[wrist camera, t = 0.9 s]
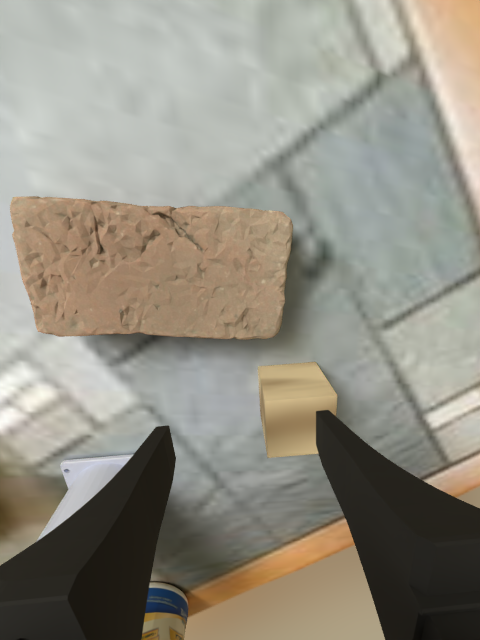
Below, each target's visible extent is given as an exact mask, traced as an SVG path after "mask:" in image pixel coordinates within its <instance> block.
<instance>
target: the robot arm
mask: <svg viewBox="0 0 480 640" xmlns="http://www.w3.org/2000/svg"><path fill="white" fill-rule="evenodd" d="M316 446H317V450H318V453H319V456H320V459H321V462H322V466H323V468H324V470H325V472H326V475H327V477H328V479H329V482H330V484H331V486H332V488H333V491H334V493H335V495H336V497H337V500H338V502H339V504H340V506H341V509H342V511H343V513H344V515H345V518H346V520H347V523H348V525H349V528H350V531H351V534H352V537H353V540H354V543H355V546H356V549H357V551H358V554H359V557H360V561H361V564H362V566H363V570H364V572H365V576H366V579H367V582H368V585H369V588H370V591H371V594H372V598H373V601H374V604H375V607H376V610H377V614H378V617H379V620H380V624H381V627H382V630H383V633H384V637H385V640H480V508H477V507H475V506H473V505H470V504H468V503H466V502H464V501H461V500H459V499H457V498H455V497H453V496H451V495H449V494H447V493H445V492H443V491H441V490H439V489H437V488H435V487H433V486H431V485H429V484H427V483H426V482H424V481H422V480H420V479H419V478H417V477H415V476H413V475H412V474H410V473H408V472H407V471H405V470H403V469H402V468H400V467H399V466H397V465H396V464H394V463H393V462H391V461H390V460H388V459H387V458H385V457H384V456H383V455H381V454H380V453H378V452H377V451H376V450H374V449H373V448H372V447H371V446H369V445H368V444H367V443H365V442H364V441H363V440H362V439H361V438H359V437H358V436H357V435H356V434H355V433H354V432H352V431H351V430H350V429H349V428H348V427H347V426H346V425H345V424H343V423H342V422H341V421H340V420H339V419H338V418H337V417H336V416H335V415H334V414H333V413H332V412H330V411H329V410H321V411H316ZM175 461H176V457H175V452H174V447H173V443H172V438H171V433H170V428H169V426H159V427H156V428H155V429H154V430H153V431H152V433H151V434H150V435H149V436H148V438H147V439H146V440H145V441H144V443H143V444H142V445H141V446H140V448H139V449H138V450H137V451H136V452H135V454H130V455H119V456H107V457H95V458H83V459H72V460H64V461H63V462H62V463H61V465H60V467H61V470H62V473H63V475H64V478H65V481H66V483H67V486H68V489H69V490H68V491H67V493H66V495H65V496H64V498H63V499H62V501H61V503H60V504H59V506H58V507H57V509H56V511H55V512H54V514H53V515H52V517H51V519H50V520H49V522H48V524H47V525H46V527H45V528H44V530H43V532H42V533H41V535H40V536H39V538H38V540H37V541H36V542H35V543H34V544H33V545H31V546H29V547H28V548H26V549H25V550H23V551H22V552H20V553H19V554H17V555H16V556H14V557H13V558H11V559H10V560H8V561H7V562H5V563H4V564H2V565H1V566H0V640H141V639H142V632H143V625H144V618H145V611H146V604H147V598H148V591H149V585H150V579H151V572H152V567H153V561H154V555H155V550H156V544H157V540H158V535H159V531H160V527H161V523H162V520H163V516H164V512H165V508H166V505H167V501H168V497H169V493H170V489H171V485H172V481H173V475H174V469H175Z"/></svg>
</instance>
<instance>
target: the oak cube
mask: <svg viewBox="0 0 480 640" xmlns="http://www.w3.org/2000/svg"><path fill="white" fill-rule="evenodd" d="M258 376H259V394H260V412H261V420H262V426H263V432H264V438H265V444H266V450H267V456H268V458H271V457H283V456H295V455H307V454H319V453H318V450H317V446H316V411H321V410H329V411H330V412H332V413H333V414H334V415H335V416H336V408H337V394H336V393H335V391H334V389H333V388H332V386H331V385H330V383H329V382H328V380H327V379H326V377H325V376H324V374H323V373H322V371H321V369H320V368H319V366H318V365H317V363H316V362H308V363H296V364H283V365H271V366H259V367H258Z"/></svg>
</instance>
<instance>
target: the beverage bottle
mask: <svg viewBox="0 0 480 640" xmlns="http://www.w3.org/2000/svg"><path fill="white" fill-rule="evenodd" d="M187 617H188V601H187V598H186V596H185V595H184V593H183V592H182V591H181V590H179V589H178V588H176V587H174V586H172V585H169V584H166V583H160V582H150V585H149V591H148V598H147V604H146V611H145V618H144V625H143V632H142V639H141V640H184V634H185V628H186V623H187Z"/></svg>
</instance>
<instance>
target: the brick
mask: <svg viewBox="0 0 480 640" xmlns="http://www.w3.org/2000/svg"><path fill="white" fill-rule="evenodd" d="M10 212H11V218H12V223H13V227H14V232H13V234H12V236H13V239H14V242H15V246H16V250H17V255H18V260H19V266H20V271H21V276H22V280H23V283H24V285H25V288H26V290H27V293H28V295H29V298H30V301H31V305H32V309H33V312H34V318H35V323H36V327H37V330H38V332H42V333H46V334H54V335H56V336H59V337H60V336H89V335H103V334H132V333H144V334H148V335H159V336H173V337H197V338H216V339H231V338H236V339H244V340H248V339H254V338H260V339H267V338H271V337H274V336H275V335H277V333H278V332H279V330H280V327H281V324H282V314H283V307H284V304H285V295H284V289H285V281H286V279H287V273H286V269H287V262H288V260H289V256H290V252H291V243H292V232H293V224H292V221H291V219H290V218H289V217H287V216H286V215H285V214H284V213H283V212H279V211H269V210H268V211H266V210H265V211H262V210H257V209H244V208H235V207H225V206H212V207H196V206H187V207H181V208H174V207H170V206H163V207H158V206H149V207H148V206H137V205H132V204H125V203H118V202H110V201H91V200H85V199H69V198H53V197H45V198H40V197H13V199H12V201H11V205H10Z"/></svg>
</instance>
